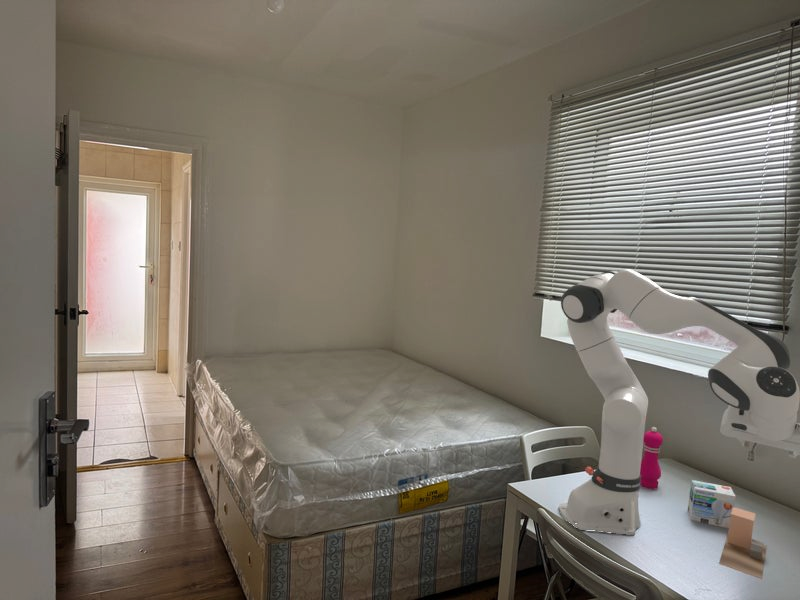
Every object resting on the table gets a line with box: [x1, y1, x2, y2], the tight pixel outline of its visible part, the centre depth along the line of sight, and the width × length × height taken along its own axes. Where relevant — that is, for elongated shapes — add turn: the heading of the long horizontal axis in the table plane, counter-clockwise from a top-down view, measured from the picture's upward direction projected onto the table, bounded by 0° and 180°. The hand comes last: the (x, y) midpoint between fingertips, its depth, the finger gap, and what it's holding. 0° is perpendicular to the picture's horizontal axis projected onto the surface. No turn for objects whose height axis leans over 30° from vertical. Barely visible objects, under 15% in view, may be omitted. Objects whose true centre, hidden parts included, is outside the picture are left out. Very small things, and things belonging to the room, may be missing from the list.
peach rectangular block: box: [727, 506, 756, 549], centre depth 145 cm, size 5×5×8 cm
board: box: [718, 534, 768, 580], centre depth 139 cm, size 19×9×4 cm, turn 143°
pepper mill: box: [640, 426, 664, 490], centre depth 179 cm, size 7×7×20 cm
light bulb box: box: [687, 479, 737, 529], centre depth 156 cm, size 11×7×11 cm, turn 70°
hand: (768, 449), depth 130 cm, fingers open, 8 cm apart
